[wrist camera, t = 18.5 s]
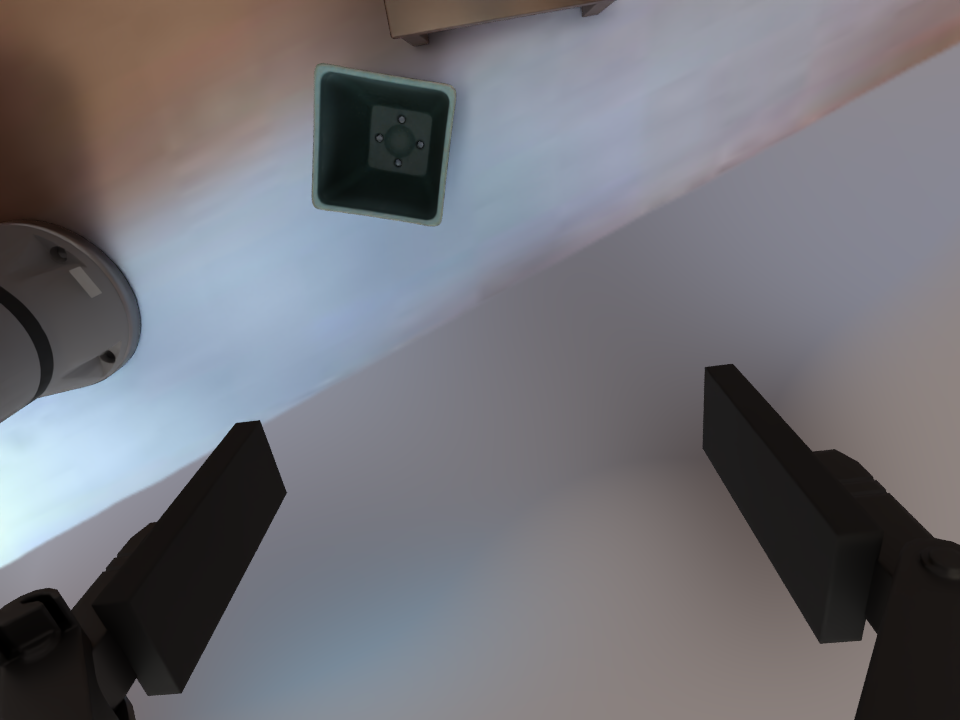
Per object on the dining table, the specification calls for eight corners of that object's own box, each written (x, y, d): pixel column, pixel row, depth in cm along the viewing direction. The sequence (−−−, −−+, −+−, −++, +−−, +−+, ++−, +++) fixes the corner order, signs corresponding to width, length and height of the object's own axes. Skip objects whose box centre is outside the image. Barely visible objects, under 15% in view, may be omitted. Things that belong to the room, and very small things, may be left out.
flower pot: (464, 88, 42) (457, 85, 34) (449, 205, 46) (440, 228, 37) (348, 68, 41) (313, 61, 33) (343, 189, 45) (310, 208, 37)
